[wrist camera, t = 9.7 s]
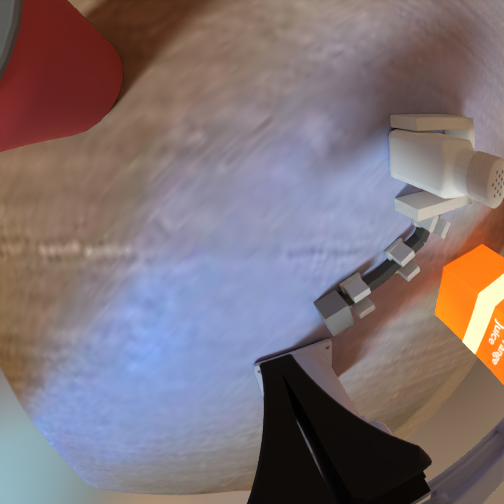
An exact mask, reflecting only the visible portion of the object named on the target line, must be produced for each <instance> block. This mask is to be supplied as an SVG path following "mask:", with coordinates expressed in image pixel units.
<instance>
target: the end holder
mask: <svg viewBox="0 0 504 504" xmlns="http://www.w3.org/2000/svg"><path fill="white" fill-rule="evenodd" d="M390 124H391V127H393V128H400V129H406V130H412V131H430V130H444V134H446V135H450V136H455V137H459V138H463V139H467V140H470V141H471V143H472V146H473V148H474V123H473V118H470V117H465V116H458V115H452V114H398V115H390ZM471 203H472V199H471V198H469V197H468V196H467V195H465V196H462V197H457V198H449V199H444V198H441V197H439V196H437V195H435V194H432V193H430V192H428V191H421V192H417V193H413V194H409V195H405V196H402V197H398V198H395V210H397V211H399V212H400V213H402V214H404V215H406V216H408V217H410V218H411V219H413V220H415V221H417V222H419V221H422V220H425V219H428V218H430V217H433V216H436V215H439V214H442V213H445V212H448V211H451V210H454V209H457V208H459V207H462V206H465V205H468V204H471Z"/></svg>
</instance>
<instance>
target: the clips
mask: <svg viewBox="0 0 504 504" xmlns="http://www.w3.org/2000/svg"><path fill="white" fill-rule="evenodd" d="M411 224H413V225H415V226H417V227H419V228H420V227H423V228H424V229H426V230H428V231H430V233H435V234H436V235H438V236H440V237H442V238H443V239H444V238H445V235H446V233H447V231H448V228H449V226H450V224H451V223H449V222H448V221H446V220H444V219H442V218H440V217H439V215H436V216H433V217H430V218H428V219H425V220H422V221H419V222H417V221H415V220H412V222H411ZM384 252H385V254H386V256H387V258H388V260H390V261H391V260H392V259H393V260H394V261H396V262H397V263H398V264H399V265H401V266H402V267H401V268H400V269H398V270H397V271H396V272H395V274H396V275H397V274H398V273H399V274H400V275H401V276H402V277H403V278H405V279H406V280H407V281H408V282H409V281H410V280H411V279H412V278H413V277H414V276H415V275H416V274H417V273H418V272H419V271H420V268H419V266H418V265H417V264H416V263H414V262H413V261H412V260H411V259H412V258H413V257H414V256H415V253H414V250H412V249H411V248H410V247H408V246H407V245H405V244H404V243H403V240H402V239H401V238H400V237H399V238H398V239H397V240H396V241H395V242H394V243H393V244H391V245H390V246H389V247H388V248H387V249H386V250H385V251H384ZM339 285H340V288H341V290H342V293H343V294H344V295H345V294H346V293H347V294H348V295H349V296H350V298H351V299H352V300H353V301H354V302H355V303H354V304H352V305H351V306H349V309H351V308H352V309H353V310H354V311H355V312H356V313H357V315H358V316H359V317H360V318H363V317H364V316H366V315H367V314H369V313H370V312H372V311H373V310H375V305H374V303H373V302H372V301H371V300H370V299H369V298H368V297H367V295H369V294H370V293H371V291H370V288H369V287H368V286H367V285H366V284H365V283H364V282H363V281H362V279H361V276H360V274H359V273H358V272H357V273H355V274H354V275H352V276H351V277H349V278H348V279H346V280H344V281H343V282H341V283H340V284H339Z"/></svg>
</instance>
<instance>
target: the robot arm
mask: <svg viewBox="0 0 504 504" xmlns="http://www.w3.org/2000/svg"><path fill="white" fill-rule="evenodd" d="M253 368H254V371H255V374H256V377H257V380H258V383H259V386H260V389H261V392H262V395H263V397H264V419H263V434H262V442H261V450H260V456H259V461H258V466H257V471H256V475H255V479H254V483H253V486H252V490H251V493H250V497H249V499H248V502H247V504H416V503H418V502H419V501H421V500H422V499H424V498H426V497H427V496H429V495H430V494H431V498H430V499H429V500H427V501H425V502H424V503H422V504H483V503H484V502H485V501H486V500H487V499H488V497H489V496H490V495H491V494H492V493H493V492H494V491H495V490H496V488H498V486H499V485H500V484H501V483H502V481H504V418H503V419H502V420H501V421H500V422H499V423H498V424H497V425H496V426H495V428H493V429H492V430H491V431H490V432H489V434H487V435H486V436H485V437H484V438H483V439H482V440H481V441H480V442H479V443H478V444H477V445H476V446H475V447H473V448H472V449H471V450H470V451H469V452H468V453H466V454H465V455H464V456H463V457H461V458H460V459H459V460H458V461H456V462H455V463H454V464H453V465H451V466H450V467H449V468H447V469H446V470H445V471H443V472H442V473H441V474H439V475H438V476H436V477H435V478H434V479H432V480H430V481H429V482H428V483H426V481H425V479H424V478H425V477H426V476H425V474H424V472H423V471H424V470H425V469H426V468H427V467H428V466H429V465H431V463H432V461H431V459H430V457H429V456H428V455H427V454H426V453H425V451H424V450H423V449H421V448H420V447H419V446H418V445H415V444H412V443H409V442H407V441H404V440H401V439H399V438H397V437H394V435H393V434H392V432H391V431H390V429H389V428H388V427H387V426H386V425H385V424H384V423H383V422H378V421H376V420H373V421H371V422H369V423H368V422H367V421H366V419H365V417H364V416H361V417H360V415H359V413H358V412H357V410H356V408H355V407H354V405H353V403H352V401H351V400H350V398H349V396H348V395H347V393H346V391H345V389H344V388H343V386H342V384H341V382H340V381H339V379H338V377H337V376H336V374H335V372H334V371H333V369H332V341H331V340H330V339H325V340H322V341H320V342H317V343H314V344H311V345H309V346H306V347H303V348H300V349H298V350H295V351H292V352H289V353H286V354H283V355H280V356H277V357H274V358H271V359H268V360H264V361H261V362H258V363H256V364H254V366H253Z"/></svg>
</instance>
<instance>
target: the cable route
mask: <svg viewBox="0 0 504 504" xmlns="http://www.w3.org/2000/svg"><path fill="white" fill-rule="evenodd" d="M429 234H430V231H428V230H426V229H424V228H423V227H420V228H419V227H417V229H416V231H415V233H414V235H413V236H412V237H411V238H410V239H409V240H408V241H407V242H405V243H404V244H405V245H407V246H408V247H410V248H411V249H412V250H414V253H416V252H417V251H418V250H419V249H420V248H421V247H422V246H423V245H424V243H423V242H425V243H426V241H427V238H428V236H429ZM401 267H402V266H401V265H399V264H398V263H397V262H396V261H394V260H393V259H392V260H391V261H390V260H388V259H387V260H386V261H385V262H384V263H383V264H382V265H381V266H379V267H378V268H377V269H376V270H375V271H374V272H372V273H371V274H369V275H368V276H366V277H365V278H363V279H362V281H363V282H364V283H365V284H366V285H367V286H368V287H369V288H370V291H371V292H372V291H373V290H375V289H376V288H377V287H379V286H380V285H382V283H384V282H385V281H386V280H388V279H389V278H390V277H391V276H392V275H393V274H394V273H395V272H396V271H397V270H398V269H400V268H401ZM354 303H355V302H354V301H353V300H352V299H351V298H350V296H349V295H348V294H347V293H346V294H345V295H344V294H343V293H341V294H338V292H337V291H336V290H333V291H332V292H330V293H329V294H327V295H325V296H324V297H322V298H321V299H319V300H317V301H316V302H314V305H315V306H316V308H317V310H318V312H319V314H320V316H321V318H322V320H323V322H324V323H325V325H326V326H327V328H328V329H329V331H330V332H331V334H332V335H333V337H335V336H336V335H338V334H340V333H341V332H343V331H344V330H346V329H347V328H349V327H351V326H352V325H354V324H355V322H354V320H353V317H352V314H351V311H350V309H349V306H351V305H352V304H354Z"/></svg>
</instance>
